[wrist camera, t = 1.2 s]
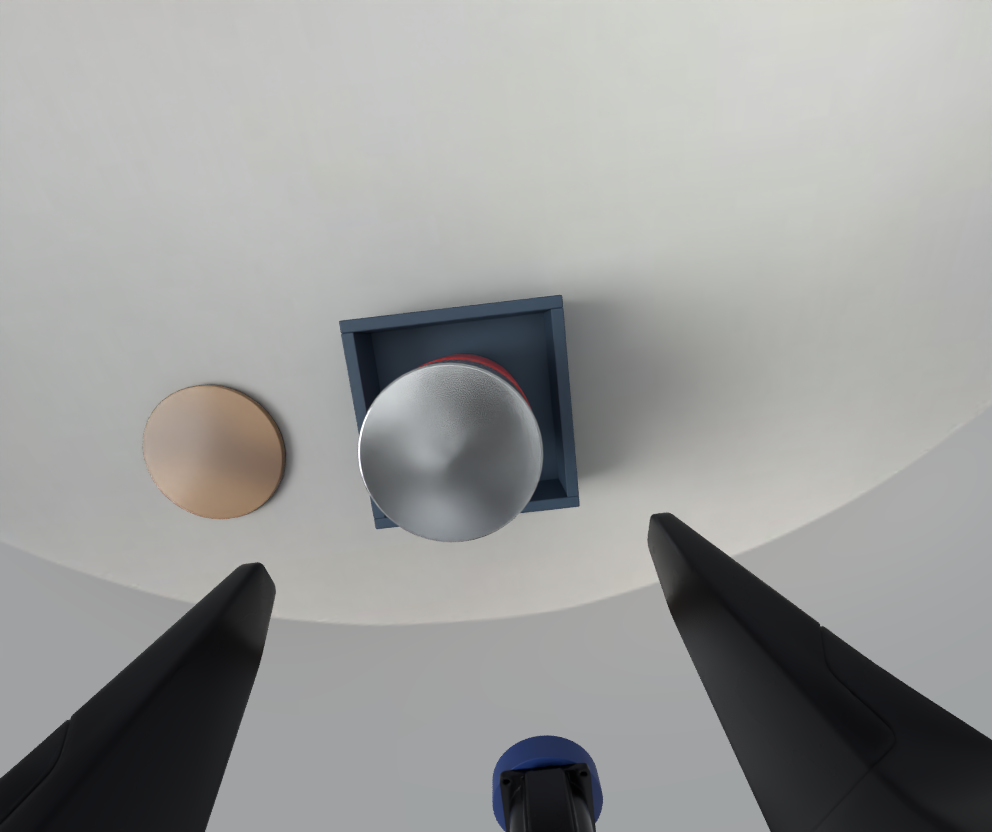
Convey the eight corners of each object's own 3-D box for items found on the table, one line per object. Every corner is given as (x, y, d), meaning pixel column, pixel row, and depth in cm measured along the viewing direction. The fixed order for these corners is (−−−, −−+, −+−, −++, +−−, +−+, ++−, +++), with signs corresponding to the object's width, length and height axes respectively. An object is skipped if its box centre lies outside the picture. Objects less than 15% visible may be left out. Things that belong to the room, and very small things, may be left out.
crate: (567, 483, 25) (579, 507, 22) (391, 503, 25) (375, 529, 22) (551, 301, 23) (562, 294, 20) (361, 323, 23) (338, 320, 20)
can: (528, 455, 24) (553, 533, 14) (421, 467, 24) (372, 553, 15) (517, 345, 23) (535, 350, 13) (404, 359, 23) (340, 373, 13)
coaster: (297, 508, 25) (294, 511, 25) (167, 523, 25) (162, 526, 25) (269, 377, 24) (266, 377, 23) (131, 393, 24) (125, 394, 24)
